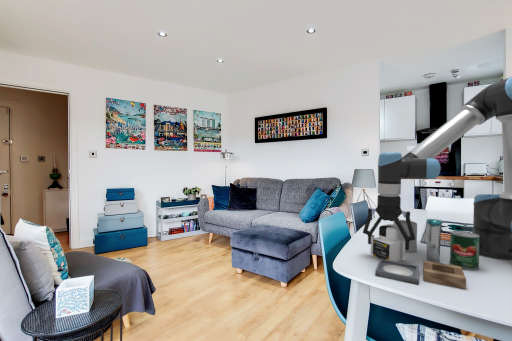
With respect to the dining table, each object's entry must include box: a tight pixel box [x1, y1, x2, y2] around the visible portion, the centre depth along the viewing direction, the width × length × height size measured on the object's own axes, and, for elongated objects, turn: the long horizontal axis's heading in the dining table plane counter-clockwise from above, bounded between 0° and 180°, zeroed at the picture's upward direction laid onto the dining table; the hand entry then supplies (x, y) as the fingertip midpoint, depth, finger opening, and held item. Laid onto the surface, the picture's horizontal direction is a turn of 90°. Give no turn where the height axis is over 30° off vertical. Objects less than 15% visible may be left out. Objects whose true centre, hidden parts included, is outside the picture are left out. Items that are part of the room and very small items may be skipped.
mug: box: [386, 219, 418, 253], centre depth 109 cm, size 12×8×11 cm
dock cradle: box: [374, 259, 420, 286], centre depth 84 cm, size 12×12×2 cm
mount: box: [422, 259, 467, 290], centre depth 81 cm, size 10×10×3 cm
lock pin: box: [425, 218, 443, 263], centre depth 93 cm, size 5×5×15 cm
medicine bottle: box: [372, 224, 403, 262], centre depth 97 cm, size 7×7×12 cm
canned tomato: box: [449, 230, 480, 271], centre depth 90 cm, size 8×8×11 cm
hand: (387, 255), depth 97 cm, fingers closed on medicine bottle, 10 cm apart
